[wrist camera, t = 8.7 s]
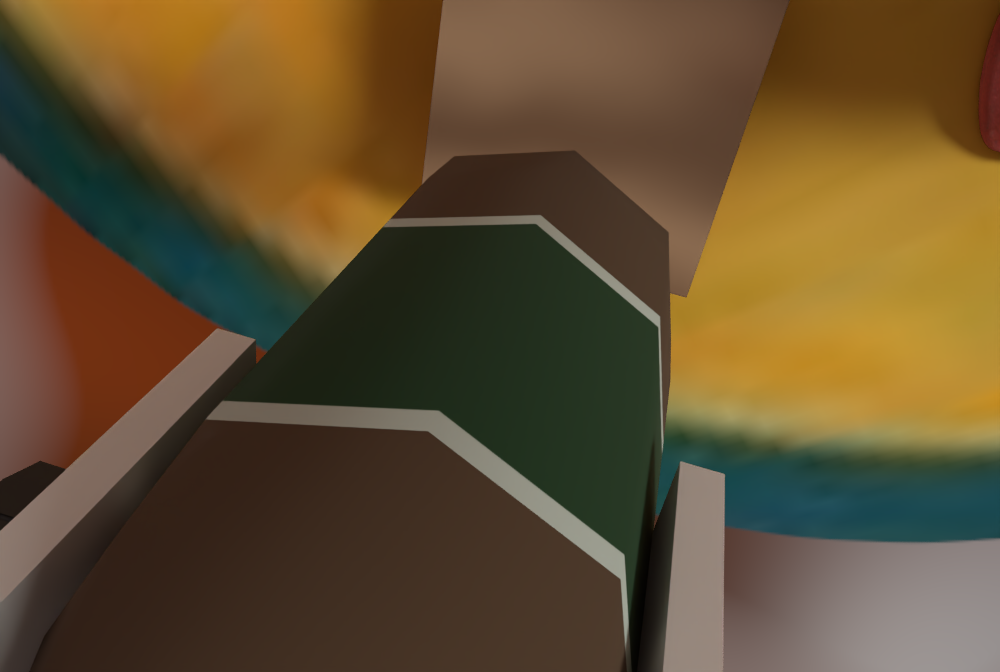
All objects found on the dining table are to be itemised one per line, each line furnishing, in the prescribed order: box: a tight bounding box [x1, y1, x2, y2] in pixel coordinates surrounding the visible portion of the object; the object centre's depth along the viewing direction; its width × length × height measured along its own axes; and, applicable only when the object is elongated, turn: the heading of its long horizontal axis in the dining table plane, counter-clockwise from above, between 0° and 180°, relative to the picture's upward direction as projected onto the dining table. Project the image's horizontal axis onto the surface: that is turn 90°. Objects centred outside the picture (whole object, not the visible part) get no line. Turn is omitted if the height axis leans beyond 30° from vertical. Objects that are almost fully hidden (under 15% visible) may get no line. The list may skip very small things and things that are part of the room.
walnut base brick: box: [422, 0, 790, 297], centre depth 30 cm, size 11×11×5 cm
